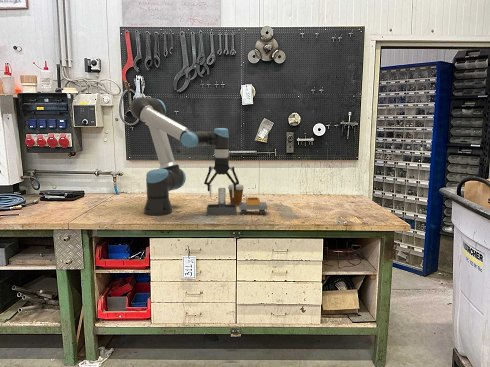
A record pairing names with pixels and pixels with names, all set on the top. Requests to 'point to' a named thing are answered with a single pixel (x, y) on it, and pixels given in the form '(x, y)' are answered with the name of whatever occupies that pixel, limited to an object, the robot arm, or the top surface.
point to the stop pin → (221, 197)
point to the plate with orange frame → (252, 205)
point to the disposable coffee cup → (236, 194)
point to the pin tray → (221, 209)
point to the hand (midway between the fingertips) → (221, 197)
